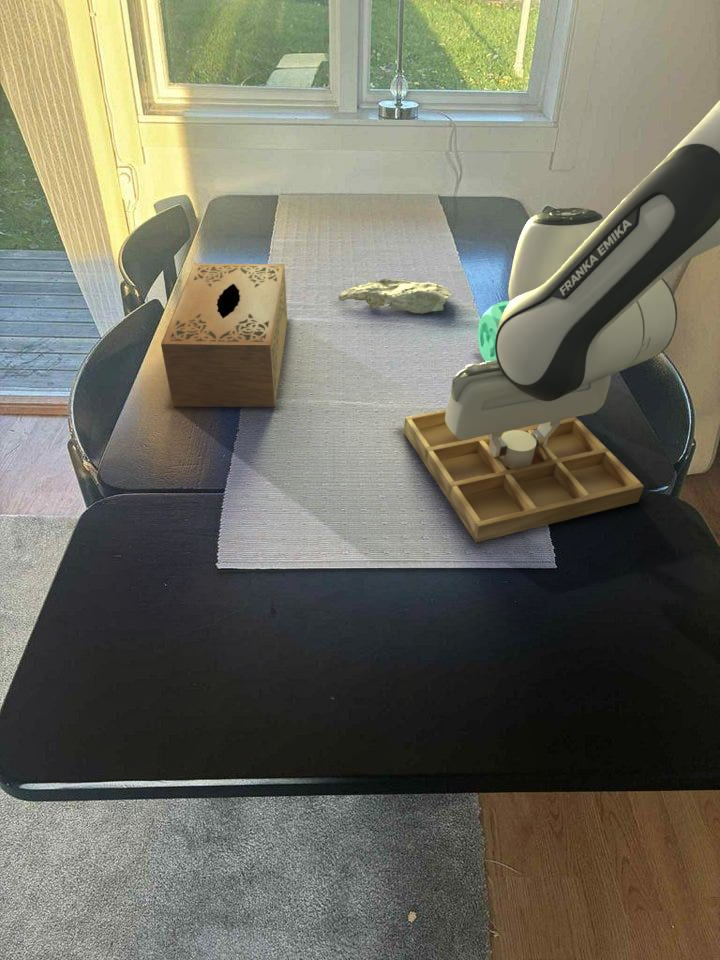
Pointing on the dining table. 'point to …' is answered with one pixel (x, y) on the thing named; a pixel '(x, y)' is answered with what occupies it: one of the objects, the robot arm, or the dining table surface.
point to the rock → (400, 295)
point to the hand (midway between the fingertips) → (517, 449)
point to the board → (521, 477)
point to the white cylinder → (518, 449)
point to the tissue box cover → (227, 336)
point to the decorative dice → (490, 330)
